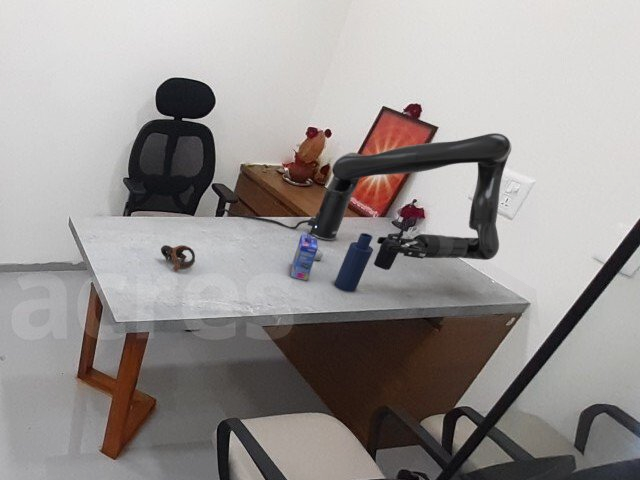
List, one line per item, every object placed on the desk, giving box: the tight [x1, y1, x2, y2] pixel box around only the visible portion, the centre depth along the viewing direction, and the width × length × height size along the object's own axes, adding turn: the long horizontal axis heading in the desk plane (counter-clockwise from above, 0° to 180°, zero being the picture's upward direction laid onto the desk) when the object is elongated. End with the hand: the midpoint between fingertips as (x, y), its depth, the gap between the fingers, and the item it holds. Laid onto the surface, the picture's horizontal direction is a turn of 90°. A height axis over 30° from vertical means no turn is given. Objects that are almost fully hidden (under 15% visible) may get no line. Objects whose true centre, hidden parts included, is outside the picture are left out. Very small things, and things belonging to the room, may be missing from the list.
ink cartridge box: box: [290, 231, 319, 281], centre depth 174 cm, size 10×6×14 cm, turn 161°
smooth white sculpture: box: [314, 248, 324, 261], centre depth 189 cm, size 4×8×5 cm
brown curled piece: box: [160, 244, 196, 272], centre depth 173 cm, size 12×10×8 cm
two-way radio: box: [373, 226, 406, 271], centre depth 166 cm, size 6×4×15 cm
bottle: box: [334, 232, 374, 293], centre depth 168 cm, size 7×7×19 cm
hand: (383, 244), depth 165 cm, fingers closed on two-way radio, 5 cm apart
